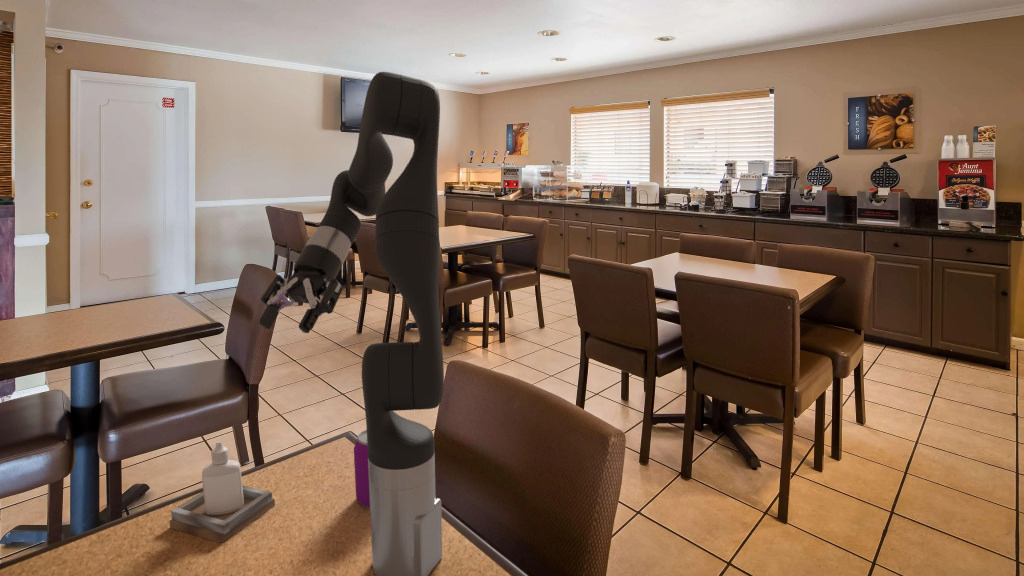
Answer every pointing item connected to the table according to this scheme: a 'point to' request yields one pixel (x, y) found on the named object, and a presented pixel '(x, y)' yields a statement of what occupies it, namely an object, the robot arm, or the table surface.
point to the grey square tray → (220, 526)
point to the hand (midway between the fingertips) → (283, 328)
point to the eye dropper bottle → (222, 483)
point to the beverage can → (362, 470)
